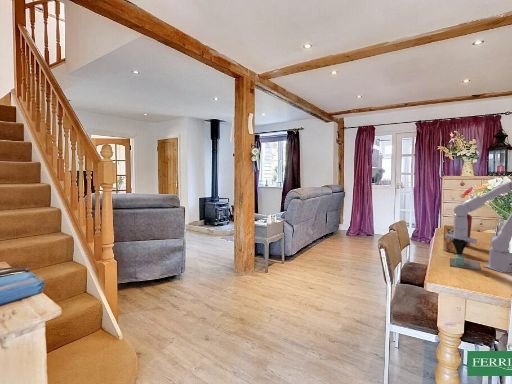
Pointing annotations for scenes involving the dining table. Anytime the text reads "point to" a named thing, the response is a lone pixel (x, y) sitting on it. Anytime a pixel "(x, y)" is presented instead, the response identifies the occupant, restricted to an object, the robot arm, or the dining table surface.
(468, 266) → the slate board
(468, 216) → the liquor
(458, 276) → the dining table surface
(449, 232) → the candy box
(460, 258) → the teal block
